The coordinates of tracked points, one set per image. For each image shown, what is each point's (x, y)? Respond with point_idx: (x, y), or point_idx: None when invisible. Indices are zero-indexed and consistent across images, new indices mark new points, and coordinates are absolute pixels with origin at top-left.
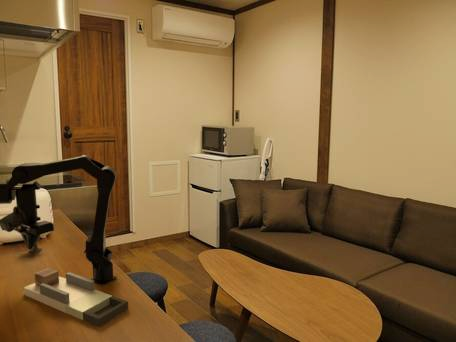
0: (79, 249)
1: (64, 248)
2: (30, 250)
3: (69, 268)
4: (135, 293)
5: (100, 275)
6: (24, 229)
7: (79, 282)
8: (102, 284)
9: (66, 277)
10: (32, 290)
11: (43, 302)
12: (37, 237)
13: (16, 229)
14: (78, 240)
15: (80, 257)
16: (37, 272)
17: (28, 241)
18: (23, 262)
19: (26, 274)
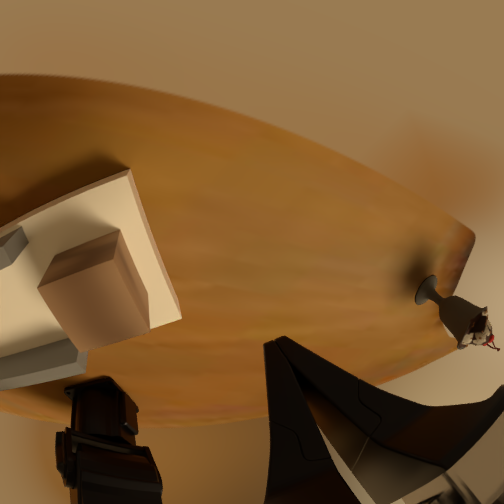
0: None
1: (380, 349)
2: (432, 279)
3: (252, 352)
4: (7, 408)
5: (77, 411)
6: (411, 487)
7: (20, 363)
8: (64, 390)
9: (75, 349)
10: (67, 203)
11: (15, 219)
12: (445, 318)
13: (494, 420)
14: (385, 373)
15: None
16: (115, 274)
17: (272, 417)
18: (400, 247)
19: (320, 230)
